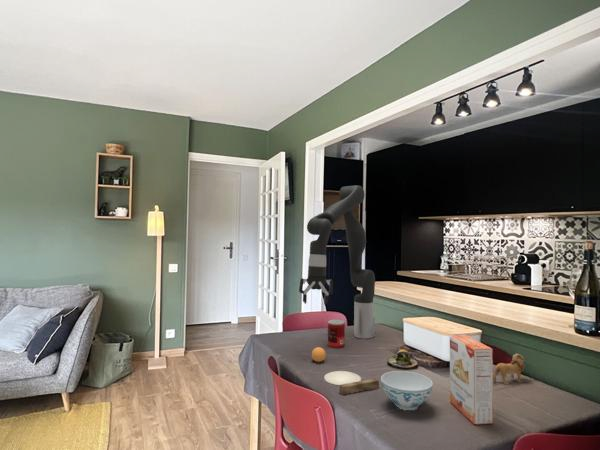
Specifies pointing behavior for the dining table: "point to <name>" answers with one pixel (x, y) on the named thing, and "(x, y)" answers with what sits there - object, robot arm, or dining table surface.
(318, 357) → the ball
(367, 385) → the strip
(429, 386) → the chinaware
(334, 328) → the canned food
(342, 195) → the robot arm
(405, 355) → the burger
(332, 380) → the disc
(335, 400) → the dining table surface
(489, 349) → the cracker box
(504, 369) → the lion figurine
